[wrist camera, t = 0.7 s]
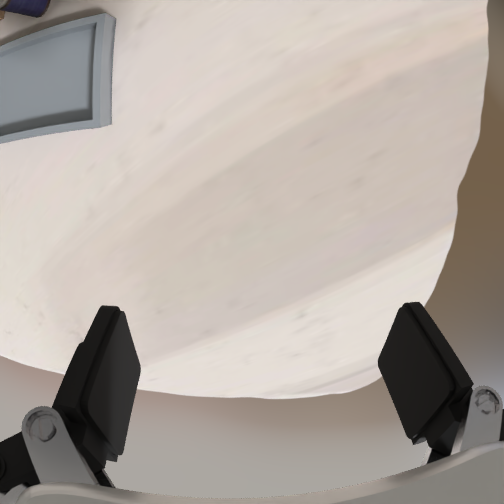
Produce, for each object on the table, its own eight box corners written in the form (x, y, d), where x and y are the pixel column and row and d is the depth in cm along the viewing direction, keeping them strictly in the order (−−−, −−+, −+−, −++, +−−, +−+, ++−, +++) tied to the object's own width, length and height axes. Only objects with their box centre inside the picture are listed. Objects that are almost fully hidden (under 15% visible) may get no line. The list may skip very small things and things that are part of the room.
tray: (-10, 57, 24) (-24, 57, 21) (116, 18, 26) (105, 12, 22) (-9, 144, 30) (-24, 149, 27) (111, 124, 32) (100, 127, 29)
